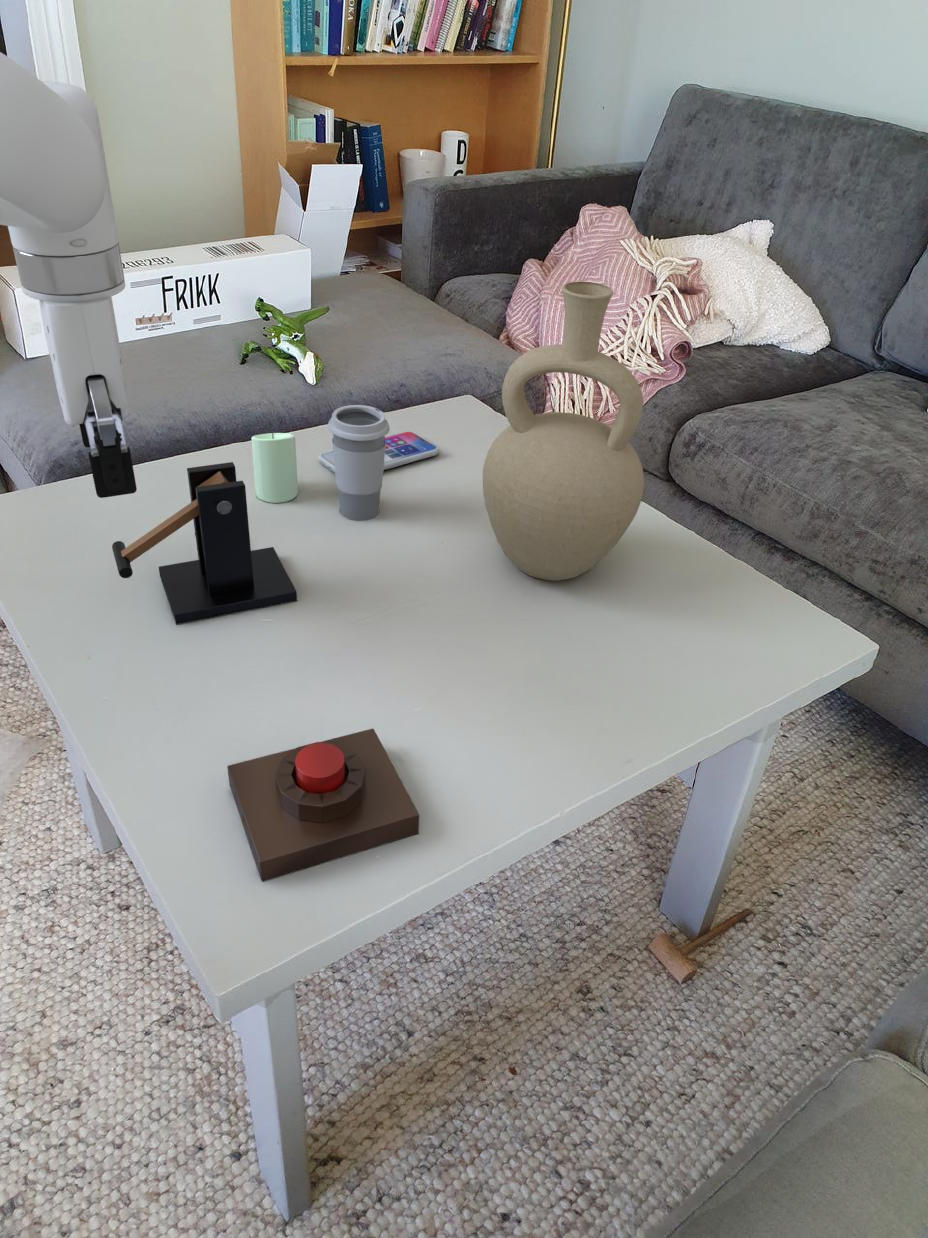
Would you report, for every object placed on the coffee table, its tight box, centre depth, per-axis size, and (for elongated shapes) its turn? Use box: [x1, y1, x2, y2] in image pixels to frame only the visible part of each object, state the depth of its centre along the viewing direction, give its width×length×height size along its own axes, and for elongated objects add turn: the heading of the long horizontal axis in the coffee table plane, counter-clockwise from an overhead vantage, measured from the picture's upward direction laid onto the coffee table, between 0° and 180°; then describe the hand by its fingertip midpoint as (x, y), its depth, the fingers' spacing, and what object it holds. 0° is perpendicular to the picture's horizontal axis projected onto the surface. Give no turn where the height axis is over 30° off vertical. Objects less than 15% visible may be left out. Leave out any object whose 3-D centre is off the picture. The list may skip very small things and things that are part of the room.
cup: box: [327, 404, 390, 521], centre depth 105 cm, size 7×7×12 cm
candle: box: [251, 432, 299, 504], centre depth 108 cm, size 5×5×8 cm
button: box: [295, 742, 345, 794], centre depth 68 cm, size 4×4×2 cm
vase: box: [482, 280, 645, 582], centre depth 92 cm, size 17×17×30 cm
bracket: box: [158, 461, 298, 625], centre depth 90 cm, size 12×9×13 cm
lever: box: [111, 471, 228, 579], centre depth 87 cm, size 13×5×2 cm, turn 115°
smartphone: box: [318, 431, 440, 474], centre depth 119 cm, size 7×1×15 cm
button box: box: [226, 728, 420, 882], centre depth 69 cm, size 12×10×4 cm
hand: (109, 468), depth 81 cm, fingers open, 9 cm apart
